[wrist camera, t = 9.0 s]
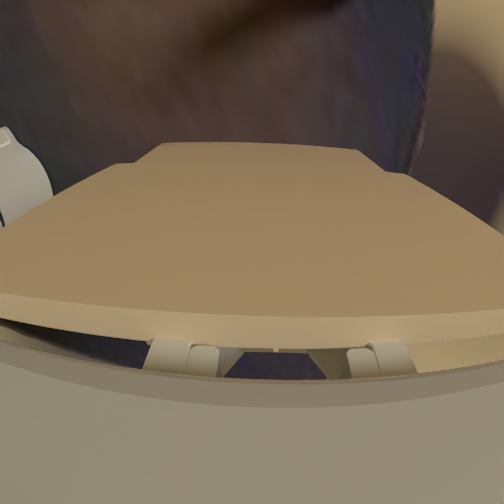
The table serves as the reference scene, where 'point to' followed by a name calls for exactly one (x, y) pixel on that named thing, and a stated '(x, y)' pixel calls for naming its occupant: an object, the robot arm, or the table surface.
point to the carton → (259, 156)
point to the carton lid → (254, 258)
